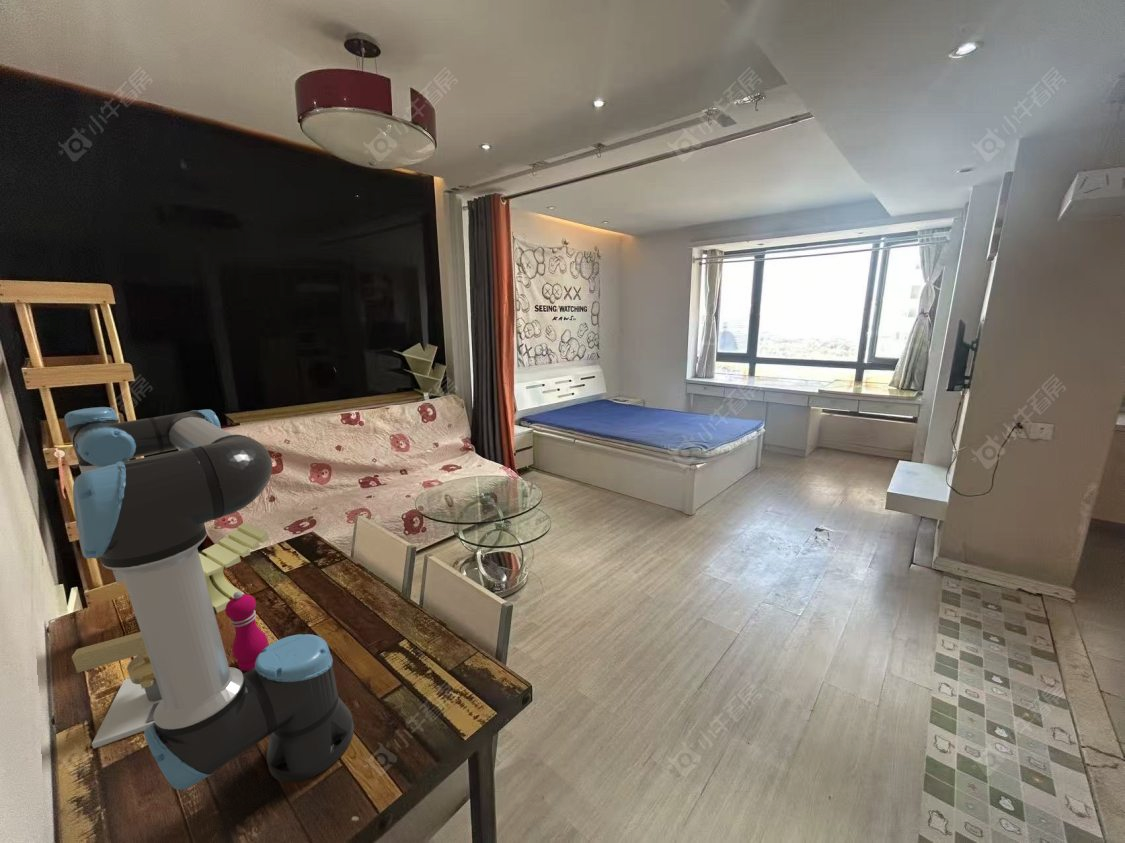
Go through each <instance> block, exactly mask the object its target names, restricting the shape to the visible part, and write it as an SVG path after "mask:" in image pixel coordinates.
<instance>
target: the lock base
mask: <svg viewBox="0 0 1125 843" xmlns="http://www.w3.org/2000/svg"><path fill="white" fill-rule="evenodd" d="M161 700H162V697H161V694H160V691H159V688H158V685H157V682H156V680H154V682H153V684H152V686H149V687H146V688H143V689H142V687H141V684H134V683H132V682H131V679H130V677H129V678H126V679H123V681H122V683H121V685H120V688H119V689H118V692H117V693H116V696H115V697H114V700H112V704H111V705H110V707H109V708H108V711H107V713H106V715H105V717H104V719H103V721H102V723H101V725H100V726H99V729H98V730H97V733H96V734H95V736H94V739H93V741H92V743H91V746H92V748H93V749H97V748H100V747H103V746H105V745H109V744H111V743H114V742H117V741H119V740H122V739H125V738H128V737H131V736H133V735H135V734H138V733H139V734H140V733H142V732H145V730H146V728H147V727H149V726H150V725H151V724H152V723H153V722H154V717H153V716H154V712H155V709H156V707H157V705H158V704H159V702H160V701H161Z"/></svg>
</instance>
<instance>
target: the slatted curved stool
mask: <svg viewBox="0 0 1125 843" xmlns="http://www.w3.org/2000/svg"><path fill="white" fill-rule="evenodd" d="M268 541H270V538H269V534H268V531H265V530H264V529H262V528H259V527H257V526H254V525H253V524H250V523H248V522H244V523H242V524H240V525H238V526H237V529H235V530H232V531H230V532H229V533H228V535H227V536H225V537H223V538H221V539H219V540H218V543H214V544H213V545H210V546H209V547H207V548H205V549H203V550H201V553H200V552H198V553H199V557H200V560H201V564H202V568H203V572H204V575H205V579H206V583H207V587H208V591H209V594H210V598H211V602H212V606H213V609H214V613H215V614H218V613H220V612H222V611H224V610H225V608H226V605H227V603H228V602H229V601H230V600H231V599H233V598H234V597H233V595H234V593H235V592H238V591H240V592H242V594H245V593H244V592H243V591H241V590H240V589H239V588H237V587H236V586H234V585H233V584H232V583H231V582H230V581H228V580H227V579H226V577H225V574H224V568H226V569H228V568H230V567H232V566H235V565H236V564H239V563H241V562H242V560H241V557H242V558H245V557H248V556H250V555H251V550H252V551H254V550H256V549H259V548H260V547H261V546H260V543H262V544H264V543H266V542H268ZM240 556H241V557H240Z"/></svg>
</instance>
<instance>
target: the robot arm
mask: <svg viewBox="0 0 1125 843" xmlns="http://www.w3.org/2000/svg"><path fill="white" fill-rule="evenodd" d="M64 422H65V428H66V429H65V430H66V431H67V433H68V435H69V438H70V441H71V445H72V448H73V450H74V453H75V456H76V458H77V461H78V462H77V464H78V467H79V470H80V474H79V475H77V477H76V478H75V480H74V482H73V485H72V496H73V510H74V515H75V516H74V518H75V524H76V529H77V532H78V540H79V542H78V543H79V545H80V550H81V553H82V556H83V558H84V559H98V558H99V559H100V561H101V565H102V566H103V567H104V568H105V569H107V570H108V569H109V570H112V574H113V575H114V579H115V582H116V584H120V583H124V584H125V588H126V591H127V594H128V597H129V599H130V603H131V606H132V609H133V613H134V615H135V618H136V622H137V625H138V629H139V632H141V635H142V638H143V641H144V644H145V647H146V650H147V653H148V657H149V660H150V663H151V666H152V669H153V672H154V675H155V678H156V682H157V685H158V688H159V691H160V694H161V697H162V700H161V701H160V702H159V704H158V705H157V707H156V709H155V712H154V716H153V717H154V722H153V723H152V724H151V725H150V726H149V727H147V728H146V730H145V731H143V732H144V738H145V741H146V743H147V746H148V748H149V750H150V752H151V754H152V756H153V757H154V760H155V761H156V763H157V765H158V767H159V769H160V771H161V772H162V774H163V777H165V779H166V780H167V782H168V783H169V785H170V786H171V787H172V788H173V789H175V790H178V791H183V790H186V789H187V790H188V789H190V788H191V787H192V786H194V785H196V784H198V783H199V782H202V781H203V780H204V779H206V778H209V777H210V776H213V774H214V773H215V772H216V771H217V770H219V769H221V768H222V767H224V766H225V765H227V764H229V763H231V761H232V760H234V759H235V758H237V757H239V756H240V755H241V754H243V753H244V752H246V751H248V750H249V749H250V748H252V747H253V746H255V745H257V744H258V743H260V742H261V741H262V740H264V739H265V738H267V737H268V736H269V740H268V744H267V749H266V763H267V766H268V771H269V773H270V774H271V776H272V777H273V779H276V780H277V781H278V782H282V783H286V784H287V783H288V784H290V783H300V782H304V781H306V780H307V781H308V780H310V779H312V778H314V777H316V776H318V775H320V774H322V773H323V772H324V771H326V770H328V769H329V768H330V767H332V766H333V765H334V764H336V762H337V761H338V760H339V759H340V758H341V757H342V756H343V755H344V754H345V752H346V750H347V749H348V747H349V746H350V745H351V742H352V739H353V736H354V733H355V724H354V719H353V715H352V712H351V710H350V709H349V708H348V707H347V705H346V704H345V703H344V701H343V700H342V699H341V697H339V693H338V688H337V682H336V677H335V672H334V671H335V670H334V666H333V660H334V659H333V656H332V654H331V651H330V648H329V645H328V643H327V642H326V640H325V639H324V638H322V637H321V636H319V635H315V634H312V633H311V634H309V633H308V634H307V633H306V634H301V633H298V634H293V635H289V636H286V637H283V638H280V639H278V640H276V641H274V642H272V643H270V644H268V645H267V647H266V648H265V649H264V650H263V651H262V653H260V654H259V655H258V657H257V659H256V662H255V668H253V669H251V670H248V671H246V672H245V673H243V672H242V670H240V669H239V668H236V667H233V666H232V667H231V666H229V663H228V660H227V655H226V651H225V647H224V644H223V640H222V637H221V633H220V629H219V628H220V627H219V624H218V621H217V616H216V612H215V613H214V609H213V606H212V602H211V598H210V594H209V591H208V587H207V583H206V579H205V575H204V572H203V568H202V564H201V560H200V557H199V553H200V552H199V550H198V547H199V546H200V545H201V544H202V543H203V542H204V541H205V539H206V538H207V536H208V534H207V529H206V523H208V522H211V521H214V520H218V519H220V518H224V517H226V516H229V515H233V514H234V513H237V512H239V511H240V510H243V509H244V508H245V507H247V506H248V505H250V504H251V503H252V502H254V501H255V499H257V498H258V497H259V496H260V495H261V494H262V493H263V491H264V490H265V488H266V486H267V485H268V483H269V482H270V479H271V476H272V470H273V460H272V457H271V455H270V452H269V451H268V449H267V448H266V447H265V446H264V445H263V444H262V443H261V442H259V441H257V440H255V439H254V438H252V437H250V436H247V435H243V434H232V433H230V432H228V431H226V430H225V429H223V428H221V427H222V426H221V422H220V420H219V417H218V416H217V415H216V412H215V411H213V410H212V409H206V408H205V409H199V410H198V409H197V410H195V409H194V410H193V409H192V410H190V411H189V410H188V411H186V412H179V413H173V414H167V415H161V416H155V417H148V418H141V419H135V420H134V419H133V420H128V421H127V420H126V421H123V422H120V418H118V416H117V413H116V411H115V409H114V408H113V407H107V406H99V407H89V408H82V409H77V410H76V409H75V410H72V411H69V412H67V413H66V414H65V415H64ZM174 450H175V451H174ZM168 451H170V452H168ZM160 453H161V454H160ZM155 454H156V455H155ZM145 456H146V457H145ZM140 457H142V458H140Z"/></svg>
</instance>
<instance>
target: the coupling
mask: <svg viewBox="0 0 1125 843" xmlns="http://www.w3.org/2000/svg"><path fill="white" fill-rule="evenodd" d="M132 657H133V659H132V660H131V661H130V662H129V663H128V665H127V666H126V670H127V673H128V677H129V678H130V679H131V682H132V683H134V684H141V687H142V689H143V688H146V687H149V686H152V684H153V682H154V680H156V678H155V675H154V672H153V669H152V666H151V663H150V660H149V657H148V653H147V650H146V647H145V644H144V641H143V638H142V635H141V632H140V631H137V632H135V633H131V634H127V635H124V636H121V637H117V638H112V639H109V640H105V641H102V642H98V643H94V644H91V645H87V646H83V647H80V648H76V650H75V651H74V653H73V654H72V655H71V660H72V662H73V665H74V667H75V669H76V672H77V674H79V673H81V672H85V671H89V670H92V669H96V668H98V667H101V666H106V665H109V664H113V663H116V662H119V661H122V660H126V659H130V658H132Z"/></svg>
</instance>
